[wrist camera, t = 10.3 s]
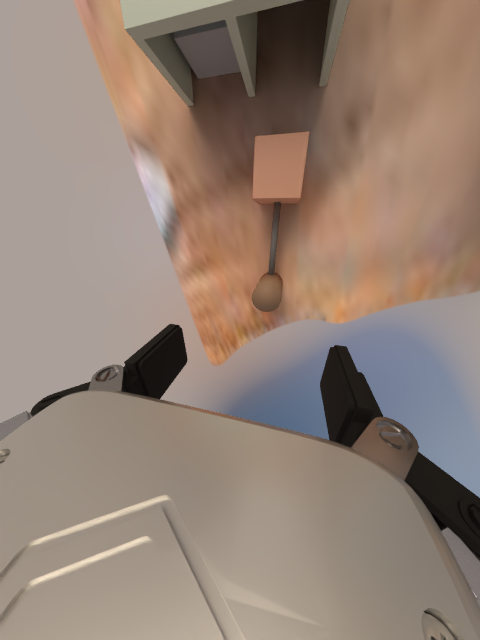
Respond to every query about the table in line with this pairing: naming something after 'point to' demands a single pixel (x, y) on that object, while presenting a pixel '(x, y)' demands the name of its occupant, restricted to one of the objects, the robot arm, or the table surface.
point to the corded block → (276, 197)
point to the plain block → (208, 49)
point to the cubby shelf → (207, 7)
